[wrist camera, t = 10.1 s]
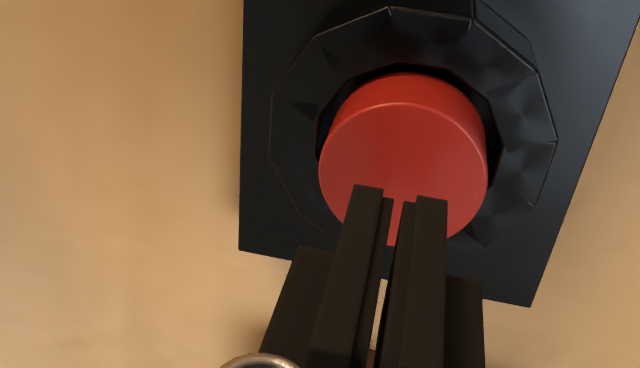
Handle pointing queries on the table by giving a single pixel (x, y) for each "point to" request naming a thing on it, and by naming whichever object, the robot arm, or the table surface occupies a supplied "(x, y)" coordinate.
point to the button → (407, 147)
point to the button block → (460, 71)
